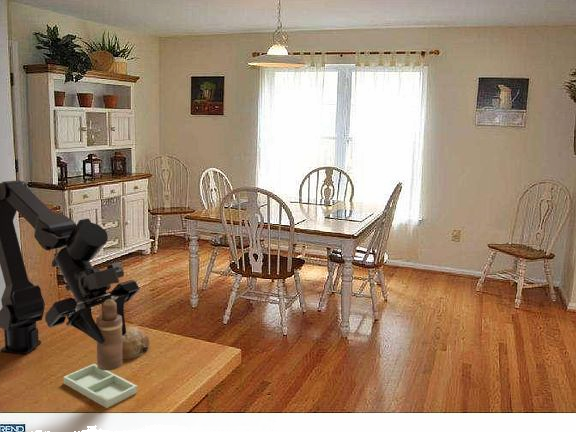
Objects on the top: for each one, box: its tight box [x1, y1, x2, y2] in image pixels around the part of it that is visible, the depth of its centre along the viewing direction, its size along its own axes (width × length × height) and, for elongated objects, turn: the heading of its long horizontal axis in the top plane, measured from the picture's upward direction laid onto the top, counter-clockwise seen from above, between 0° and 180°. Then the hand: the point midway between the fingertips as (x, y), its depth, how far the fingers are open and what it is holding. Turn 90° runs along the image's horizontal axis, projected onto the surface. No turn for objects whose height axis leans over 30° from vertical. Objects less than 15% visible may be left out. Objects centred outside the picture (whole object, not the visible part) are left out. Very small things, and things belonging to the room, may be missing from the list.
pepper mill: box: [95, 299, 123, 371], centre depth 104 cm, size 5×5×14 cm
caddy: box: [63, 363, 138, 409], centre depth 109 cm, size 14×7×2 cm, turn 55°
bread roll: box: [122, 325, 151, 360], centre depth 126 cm, size 10×10×8 cm
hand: (113, 338), depth 104 cm, fingers closed on pepper mill, 5 cm apart
